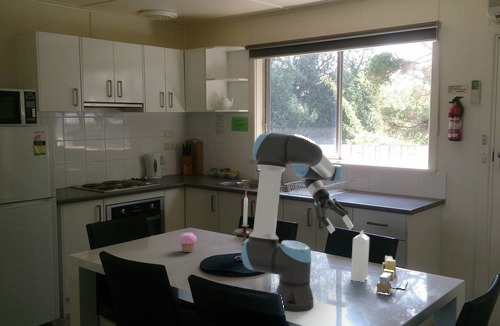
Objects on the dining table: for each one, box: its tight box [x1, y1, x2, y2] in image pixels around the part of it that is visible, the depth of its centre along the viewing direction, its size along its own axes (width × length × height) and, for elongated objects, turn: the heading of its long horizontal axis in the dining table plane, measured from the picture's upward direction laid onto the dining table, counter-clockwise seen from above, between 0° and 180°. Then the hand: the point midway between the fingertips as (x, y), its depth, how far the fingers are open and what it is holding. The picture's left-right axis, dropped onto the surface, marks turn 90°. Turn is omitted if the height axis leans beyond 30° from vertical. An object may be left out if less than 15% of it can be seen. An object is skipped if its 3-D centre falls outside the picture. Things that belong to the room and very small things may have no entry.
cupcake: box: [178, 232, 197, 253], centre depth 252 cm, size 9×9×10 cm
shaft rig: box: [376, 255, 397, 294], centre depth 213 cm, size 34×12×8 cm, turn 158°
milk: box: [350, 229, 370, 282], centre depth 216 cm, size 6×6×22 cm
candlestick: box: [233, 190, 254, 261], centre depth 240 cm, size 11×11×35 cm
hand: (342, 229), depth 223 cm, fingers open, 13 cm apart
